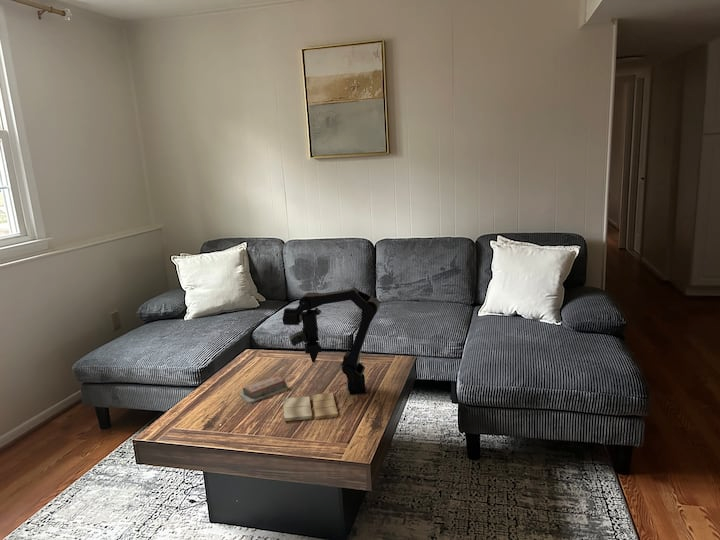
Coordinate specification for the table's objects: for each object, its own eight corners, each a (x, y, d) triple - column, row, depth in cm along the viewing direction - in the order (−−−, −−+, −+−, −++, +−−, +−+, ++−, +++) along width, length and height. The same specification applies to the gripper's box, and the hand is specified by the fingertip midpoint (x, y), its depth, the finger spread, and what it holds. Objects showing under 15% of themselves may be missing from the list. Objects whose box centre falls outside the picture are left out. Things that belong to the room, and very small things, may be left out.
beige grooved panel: (309, 399, 206) (309, 396, 206) (312, 418, 191) (312, 415, 191) (283, 401, 205) (283, 398, 205) (284, 421, 189) (284, 418, 189)
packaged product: (276, 372, 224) (288, 379, 216) (277, 383, 225) (289, 390, 217) (237, 385, 213) (248, 393, 205) (238, 396, 214) (249, 404, 206)
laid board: (332, 395, 209) (332, 392, 208) (338, 416, 191) (337, 413, 191) (312, 397, 208) (312, 394, 207) (315, 419, 190) (315, 416, 190)
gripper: (289, 320, 217) (292, 356, 220) (290, 334, 199) (294, 373, 202) (316, 317, 218) (319, 352, 221) (319, 331, 200) (323, 369, 203)
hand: (313, 362), depth 212 cm, fingers closed
